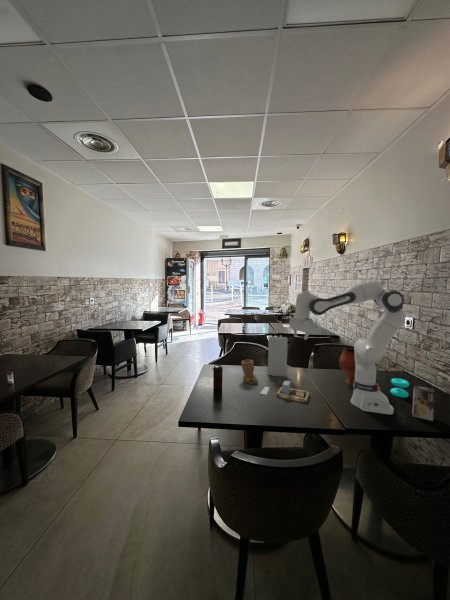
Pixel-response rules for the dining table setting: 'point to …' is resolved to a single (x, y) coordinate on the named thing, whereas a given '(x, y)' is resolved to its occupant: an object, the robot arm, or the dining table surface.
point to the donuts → (398, 391)
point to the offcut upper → (299, 394)
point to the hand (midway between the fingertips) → (300, 337)
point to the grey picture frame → (423, 403)
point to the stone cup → (249, 371)
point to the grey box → (277, 356)
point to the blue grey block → (286, 387)
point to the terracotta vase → (348, 364)
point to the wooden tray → (293, 396)
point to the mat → (264, 391)
